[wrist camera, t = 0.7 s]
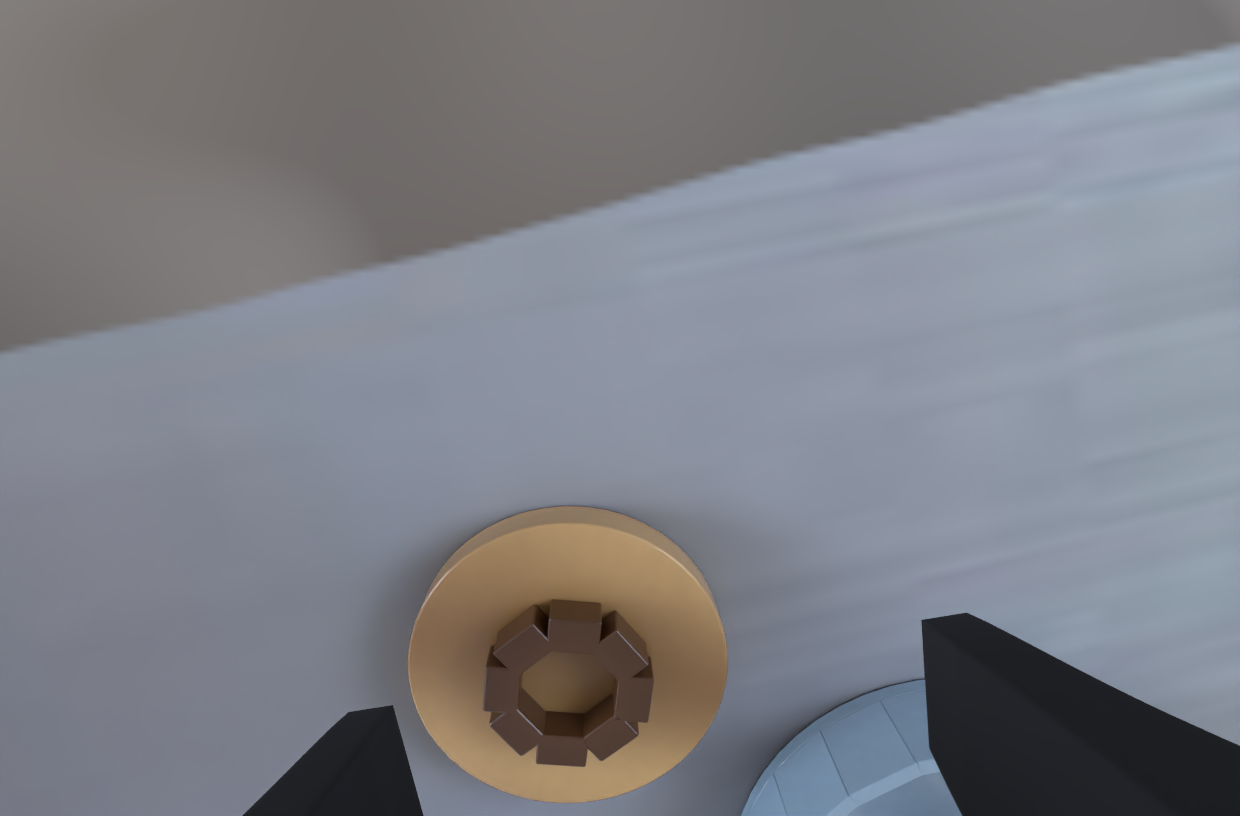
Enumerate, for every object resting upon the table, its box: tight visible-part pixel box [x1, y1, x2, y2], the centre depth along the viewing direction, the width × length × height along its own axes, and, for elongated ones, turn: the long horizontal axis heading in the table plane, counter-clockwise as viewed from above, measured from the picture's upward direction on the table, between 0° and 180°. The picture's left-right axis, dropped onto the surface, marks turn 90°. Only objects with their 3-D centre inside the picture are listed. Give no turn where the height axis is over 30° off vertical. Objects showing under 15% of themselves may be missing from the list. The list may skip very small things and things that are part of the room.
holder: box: [408, 506, 728, 803], centre depth 20 cm, size 8×8×2 cm
